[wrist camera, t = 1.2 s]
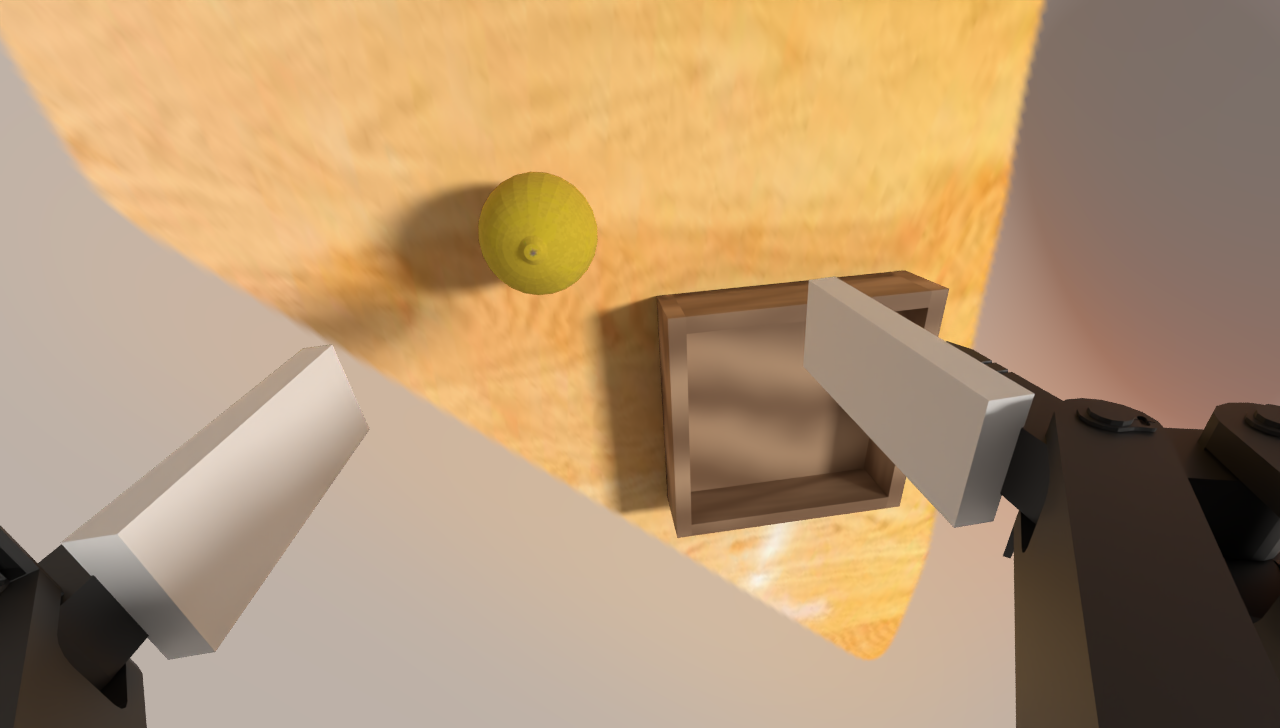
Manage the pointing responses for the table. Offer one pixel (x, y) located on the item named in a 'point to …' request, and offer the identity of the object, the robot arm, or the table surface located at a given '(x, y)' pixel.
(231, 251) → the table surface
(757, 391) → the walnut bin
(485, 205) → the lemon
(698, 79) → the table surface
